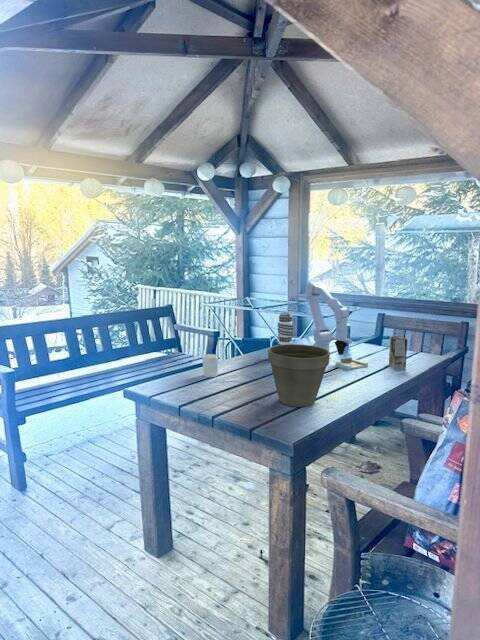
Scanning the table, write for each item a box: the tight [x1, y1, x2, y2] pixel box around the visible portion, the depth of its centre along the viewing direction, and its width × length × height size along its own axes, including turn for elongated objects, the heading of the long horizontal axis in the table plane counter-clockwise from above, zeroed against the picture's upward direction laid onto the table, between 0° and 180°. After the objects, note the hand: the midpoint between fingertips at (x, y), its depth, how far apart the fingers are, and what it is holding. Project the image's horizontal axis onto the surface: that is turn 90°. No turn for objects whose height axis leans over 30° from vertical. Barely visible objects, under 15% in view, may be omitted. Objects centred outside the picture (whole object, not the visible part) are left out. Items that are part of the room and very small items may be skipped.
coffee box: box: [388, 335, 408, 370], centre depth 240 cm, size 9×6×16 cm
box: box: [335, 358, 369, 371], centre depth 241 cm, size 9×15×2 cm, turn 121°
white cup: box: [201, 353, 219, 378], centre depth 226 cm, size 8×8×10 cm
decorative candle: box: [277, 312, 294, 345], centre depth 266 cm, size 9×9×25 cm
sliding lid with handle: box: [340, 357, 366, 370], centre depth 241 cm, size 9×10×4 cm
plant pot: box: [267, 343, 331, 408], centre depth 187 cm, size 25×25×22 cm
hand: (340, 354), depth 248 cm, fingers closed
